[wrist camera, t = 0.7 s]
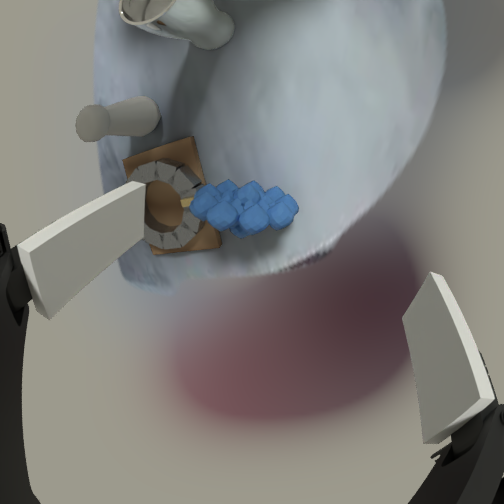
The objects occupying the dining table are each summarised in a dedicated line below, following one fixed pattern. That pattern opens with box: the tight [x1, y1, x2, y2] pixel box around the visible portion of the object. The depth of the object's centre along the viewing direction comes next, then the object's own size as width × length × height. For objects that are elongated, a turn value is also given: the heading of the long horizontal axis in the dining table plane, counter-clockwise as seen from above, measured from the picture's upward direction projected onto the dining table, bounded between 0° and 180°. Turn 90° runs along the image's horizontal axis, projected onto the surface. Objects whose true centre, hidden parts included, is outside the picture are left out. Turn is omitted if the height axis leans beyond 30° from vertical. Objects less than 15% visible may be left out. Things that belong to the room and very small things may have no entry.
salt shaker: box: [76, 96, 161, 142], centre depth 29 cm, size 6×6×13 cm
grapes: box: [189, 179, 299, 239], centre depth 31 cm, size 12×7×12 cm, turn 81°
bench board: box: [122, 136, 222, 255], centre depth 39 cm, size 16×12×1 cm
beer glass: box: [119, 0, 235, 50], centre depth 21 cm, size 7×7×15 cm
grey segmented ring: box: [126, 158, 206, 249], centre depth 37 cm, size 12×12×3 cm
